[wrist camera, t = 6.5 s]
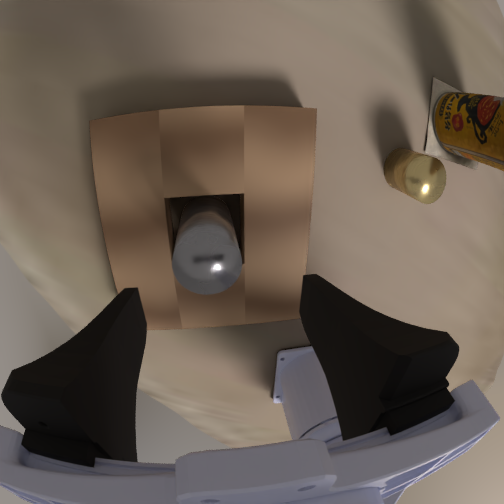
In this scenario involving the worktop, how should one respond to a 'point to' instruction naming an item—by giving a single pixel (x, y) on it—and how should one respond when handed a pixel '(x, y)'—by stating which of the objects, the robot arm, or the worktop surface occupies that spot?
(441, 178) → the short stub
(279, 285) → the hole block
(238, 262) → the grey cylinder
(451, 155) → the condiment
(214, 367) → the worktop surface
